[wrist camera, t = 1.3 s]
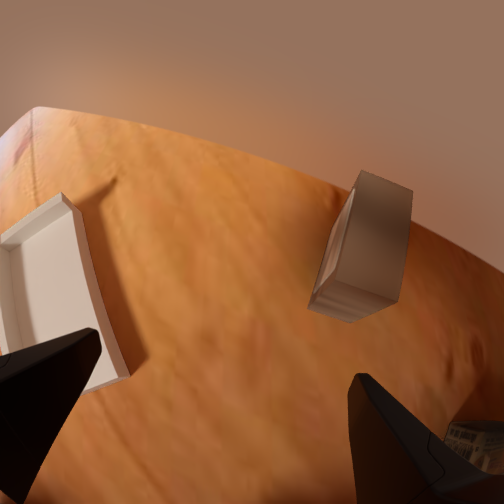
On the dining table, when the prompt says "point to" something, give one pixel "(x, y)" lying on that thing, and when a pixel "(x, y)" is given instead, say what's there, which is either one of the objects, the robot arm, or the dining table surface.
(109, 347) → the ledge
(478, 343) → the dining table surface
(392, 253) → the grey brown rectangular block
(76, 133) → the dining table surface
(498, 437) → the beverage carton
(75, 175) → the dining table surface
